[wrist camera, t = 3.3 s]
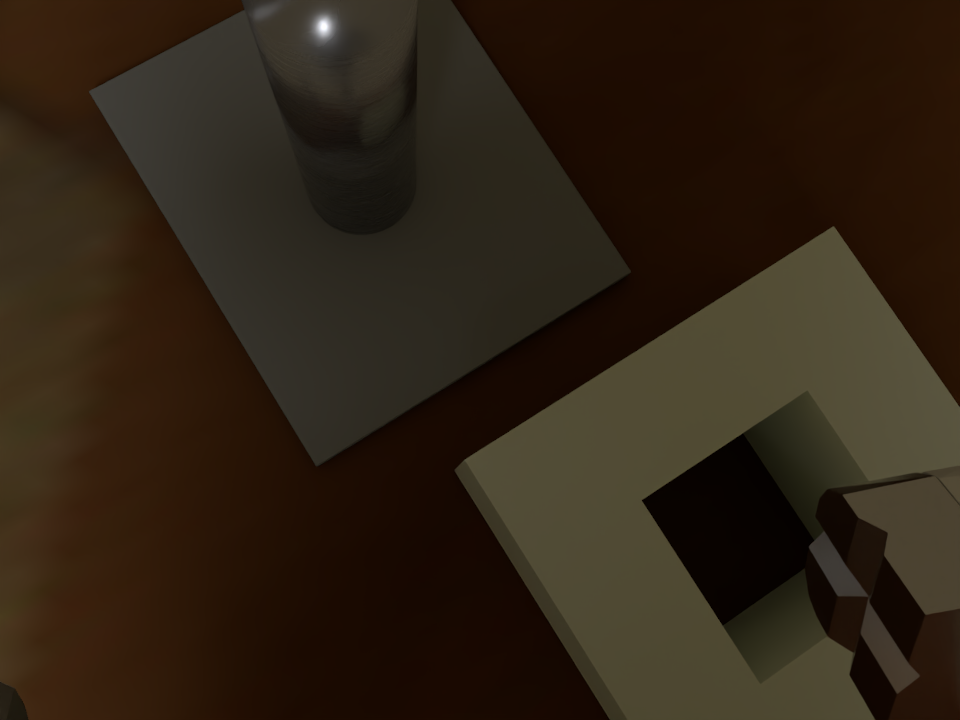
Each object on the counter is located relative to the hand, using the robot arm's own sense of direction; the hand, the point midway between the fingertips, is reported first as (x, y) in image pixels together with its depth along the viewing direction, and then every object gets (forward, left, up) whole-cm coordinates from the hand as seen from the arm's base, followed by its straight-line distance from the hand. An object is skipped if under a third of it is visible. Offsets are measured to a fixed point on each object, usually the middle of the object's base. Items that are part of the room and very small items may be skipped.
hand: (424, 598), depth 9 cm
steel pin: (+9, -4, -15) cm, 18 cm away
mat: (+9, -4, -15) cm, 18 cm away
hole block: (-4, -7, -15) cm, 17 cm away
